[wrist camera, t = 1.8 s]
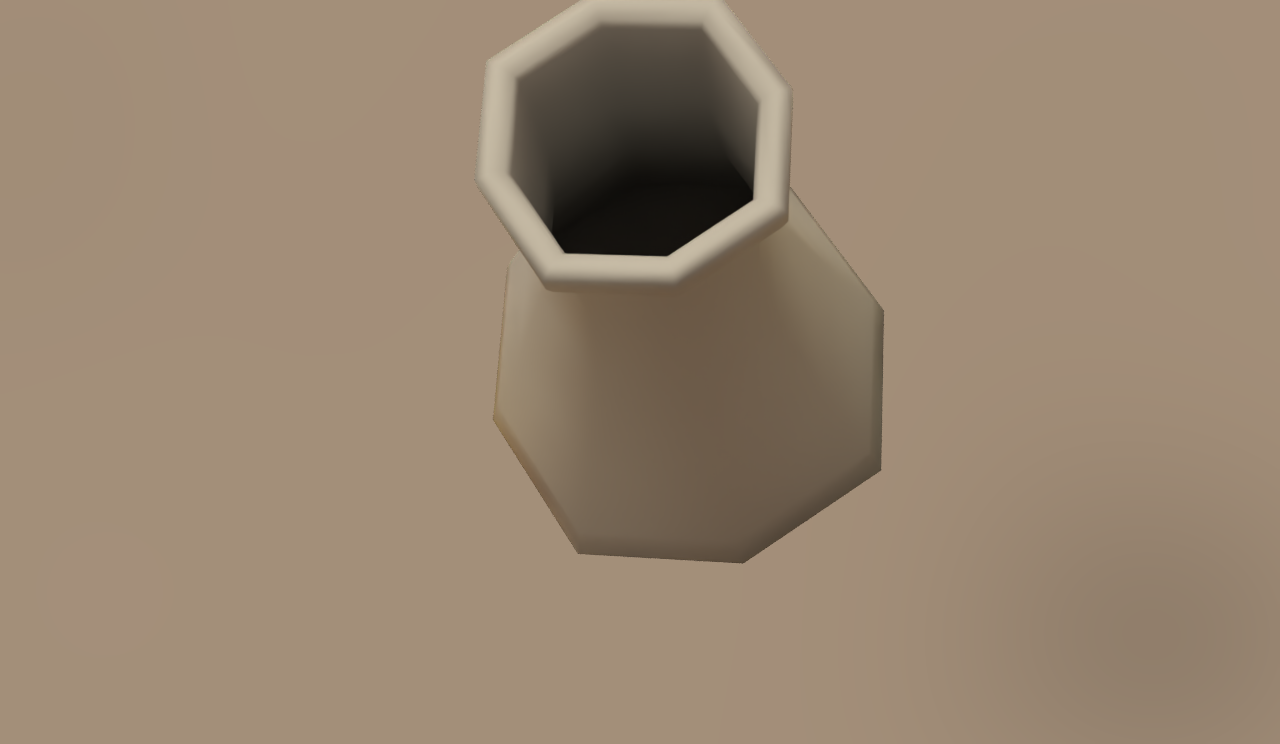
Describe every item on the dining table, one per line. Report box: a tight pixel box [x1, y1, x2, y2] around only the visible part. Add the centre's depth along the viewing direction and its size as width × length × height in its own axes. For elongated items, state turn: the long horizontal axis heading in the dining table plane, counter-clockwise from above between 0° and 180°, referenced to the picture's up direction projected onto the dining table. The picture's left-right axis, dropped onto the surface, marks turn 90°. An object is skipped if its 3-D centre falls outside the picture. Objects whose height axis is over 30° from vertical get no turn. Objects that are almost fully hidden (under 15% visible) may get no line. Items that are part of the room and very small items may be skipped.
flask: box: [474, 0, 884, 563], centre depth 16 cm, size 7×7×10 cm
